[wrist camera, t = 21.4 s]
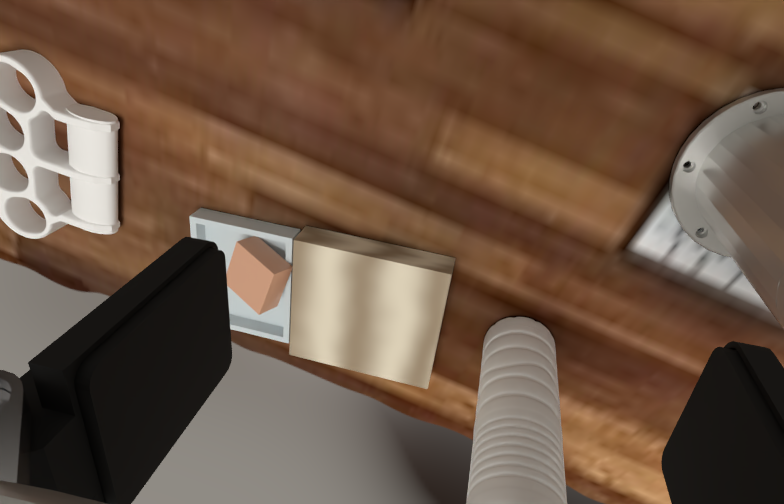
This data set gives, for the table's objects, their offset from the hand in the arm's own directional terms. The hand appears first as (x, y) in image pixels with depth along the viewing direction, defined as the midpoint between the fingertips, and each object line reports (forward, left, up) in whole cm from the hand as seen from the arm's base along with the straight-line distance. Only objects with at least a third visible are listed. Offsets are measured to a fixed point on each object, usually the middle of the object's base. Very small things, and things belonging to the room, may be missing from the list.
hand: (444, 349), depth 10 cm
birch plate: (+8, +23, -33) cm, 41 cm away
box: (+20, +23, -33) cm, 45 cm away
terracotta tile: (+18, +21, -32) cm, 42 cm away
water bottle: (-7, +23, -34) cm, 41 cm away
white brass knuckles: (+40, +14, -34) cm, 54 cm away
